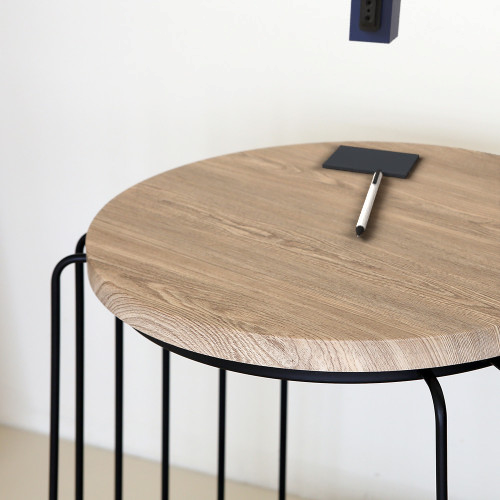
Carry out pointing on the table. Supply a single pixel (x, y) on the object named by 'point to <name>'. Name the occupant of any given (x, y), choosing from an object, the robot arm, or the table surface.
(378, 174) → the pen
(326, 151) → the table surface
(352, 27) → the block
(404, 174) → the mat
